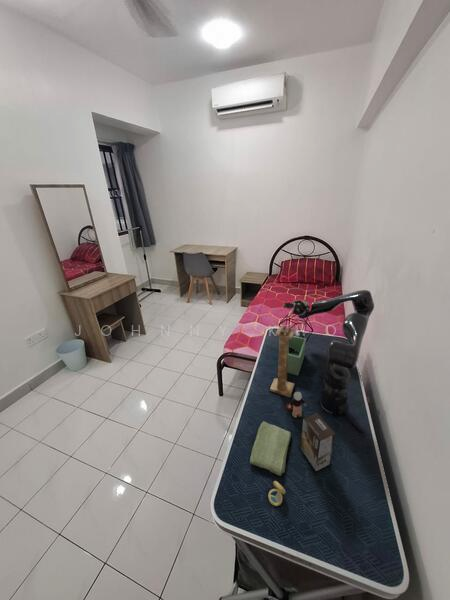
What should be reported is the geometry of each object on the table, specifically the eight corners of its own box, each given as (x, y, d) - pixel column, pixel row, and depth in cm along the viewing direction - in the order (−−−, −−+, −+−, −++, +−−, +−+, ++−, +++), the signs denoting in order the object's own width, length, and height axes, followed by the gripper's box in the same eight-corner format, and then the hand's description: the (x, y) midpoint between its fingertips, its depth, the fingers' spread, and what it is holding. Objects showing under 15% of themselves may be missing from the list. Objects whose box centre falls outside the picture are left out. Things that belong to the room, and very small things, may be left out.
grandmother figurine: (300, 408, 106) (303, 387, 101) (306, 415, 103) (308, 393, 97) (285, 413, 104) (287, 392, 99) (290, 421, 101) (292, 399, 95)
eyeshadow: (265, 497, 77) (265, 489, 75) (274, 485, 80) (275, 476, 78) (277, 509, 74) (277, 501, 72) (286, 495, 77) (286, 487, 75)
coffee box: (330, 464, 85) (336, 434, 78) (315, 471, 83) (320, 442, 76) (313, 441, 92) (317, 412, 86) (299, 447, 91) (302, 418, 84)
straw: (296, 305, 115) (296, 303, 115) (290, 317, 105) (290, 315, 105) (294, 305, 116) (294, 303, 116) (287, 317, 106) (287, 315, 105)
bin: (304, 355, 138) (306, 338, 133) (298, 375, 124) (299, 357, 119) (286, 351, 143) (287, 334, 137) (278, 370, 129) (278, 352, 124)
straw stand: (294, 385, 118) (299, 326, 103) (290, 397, 112) (295, 335, 97) (274, 379, 122) (276, 321, 107) (269, 390, 116) (271, 330, 101)
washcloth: (292, 434, 96) (292, 428, 94) (283, 479, 81) (283, 474, 80) (260, 423, 101) (260, 418, 99) (246, 464, 86) (246, 459, 85)
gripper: (287, 299, 130) (280, 295, 114) (313, 302, 124) (309, 299, 108) (284, 312, 130) (277, 311, 114) (311, 317, 124) (307, 316, 108)
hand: (293, 305), depth 111 cm, fingers closed on straw, 1 cm apart
